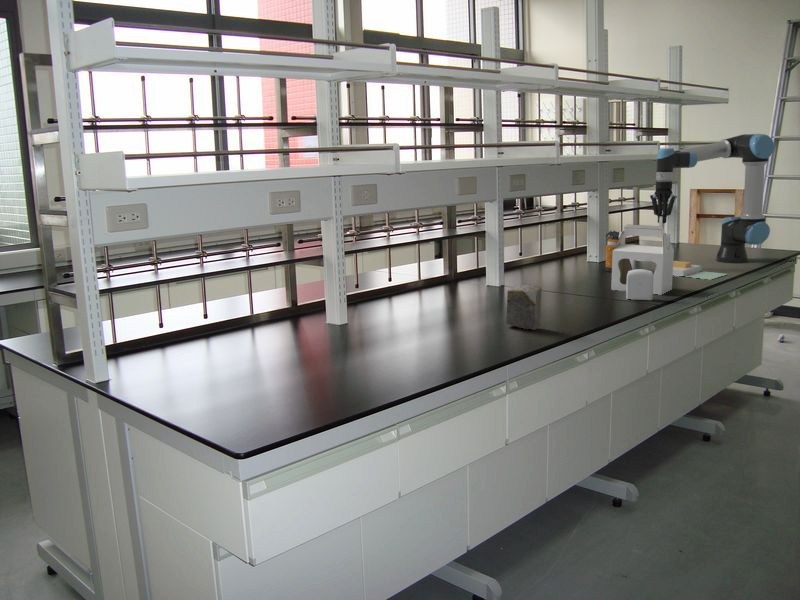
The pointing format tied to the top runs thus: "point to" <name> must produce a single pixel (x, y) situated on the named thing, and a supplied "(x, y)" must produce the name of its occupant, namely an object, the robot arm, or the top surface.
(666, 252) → the gable box
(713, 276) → the mat
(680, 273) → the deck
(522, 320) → the geological specimen
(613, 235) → the canister
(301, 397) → the top surface
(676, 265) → the light orange flat block
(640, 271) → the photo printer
